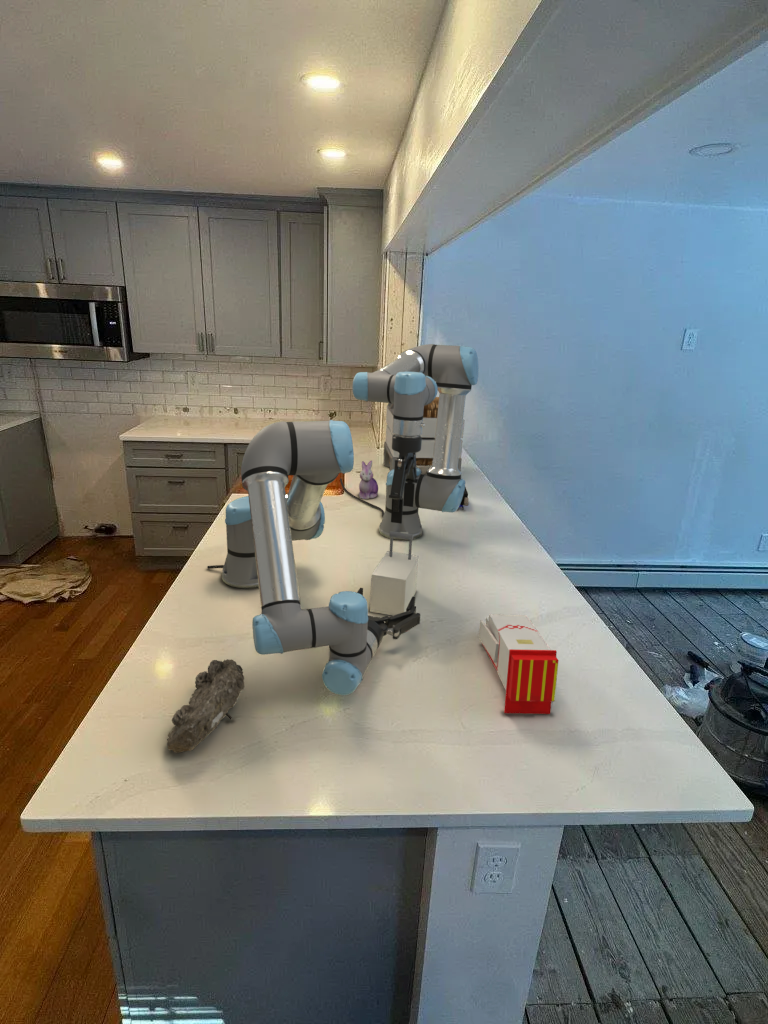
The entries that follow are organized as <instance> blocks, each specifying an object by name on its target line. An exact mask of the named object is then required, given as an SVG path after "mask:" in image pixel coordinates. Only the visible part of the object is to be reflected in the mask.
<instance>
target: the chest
mask: <svg viewBox="0 0 768 1024" xmlns="http://www.w3.org/2000/svg"><path fill="white" fill-rule="evenodd" d="M418 566H419V559H418V560H417V562H416V564H415V566H414V568H413V570H412V572H411V574H410V576H409V578H408V579H407V581H406V583H404V582H398V581H392V580H386V579H380V578H373V577H371V576H370V596H369V597H370V598H369V599H370V600H369V601H370V602H369V612H371V613H376V614H382V615H386V616H394V615H397V614H400V613H403V612H406V608H407V606H408V604H409V602H410V600H411V598H412V596H413V597H415V594H416V592H417V581H418V580H417V579H418Z"/></svg>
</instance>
